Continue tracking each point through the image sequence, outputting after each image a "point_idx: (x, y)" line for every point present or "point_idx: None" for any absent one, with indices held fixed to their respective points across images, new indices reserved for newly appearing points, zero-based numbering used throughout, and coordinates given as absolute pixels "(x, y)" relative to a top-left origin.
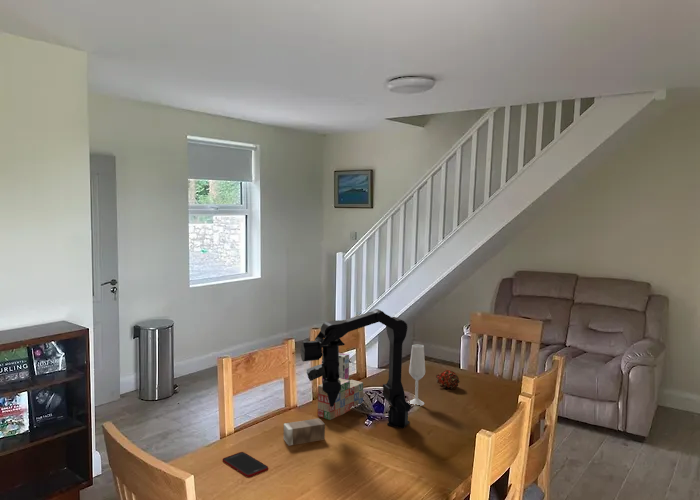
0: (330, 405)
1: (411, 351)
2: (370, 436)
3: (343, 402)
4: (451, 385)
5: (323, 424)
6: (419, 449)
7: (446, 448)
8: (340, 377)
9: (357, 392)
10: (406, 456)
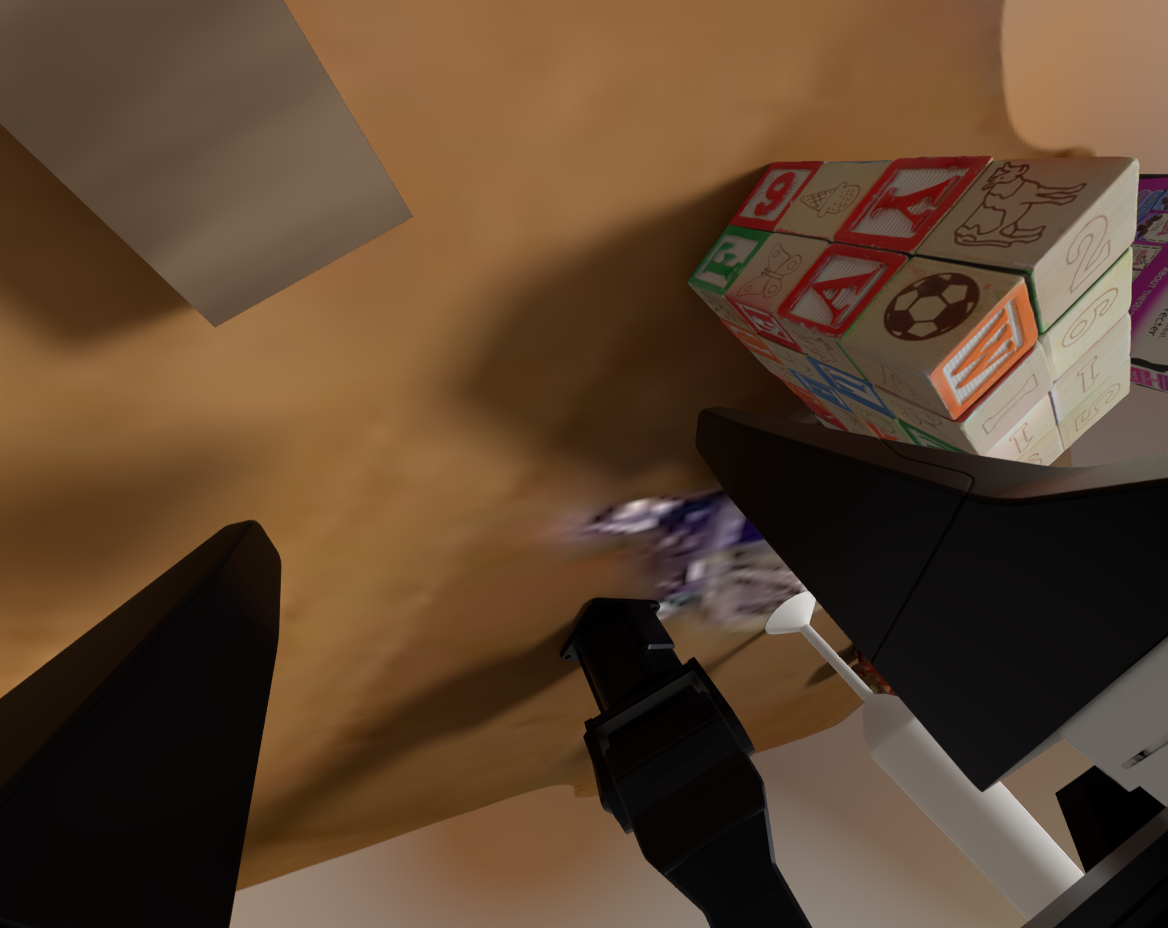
0: (214, 545)
1: (1042, 847)
2: (440, 572)
3: (825, 395)
4: (858, 667)
5: (197, 306)
6: (342, 761)
7: (390, 802)
8: (1146, 334)
9: None
10: None
